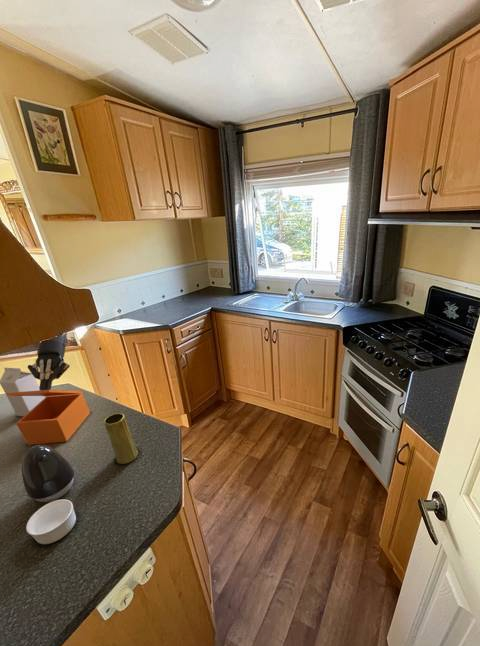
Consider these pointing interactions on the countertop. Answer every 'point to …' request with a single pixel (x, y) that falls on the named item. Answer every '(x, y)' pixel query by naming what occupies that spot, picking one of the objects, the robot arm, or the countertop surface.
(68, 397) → the box
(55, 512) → the ramekin
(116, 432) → the vase
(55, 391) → the lid
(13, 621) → the countertop surface
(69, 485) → the dark rounded cone
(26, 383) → the milk carton
